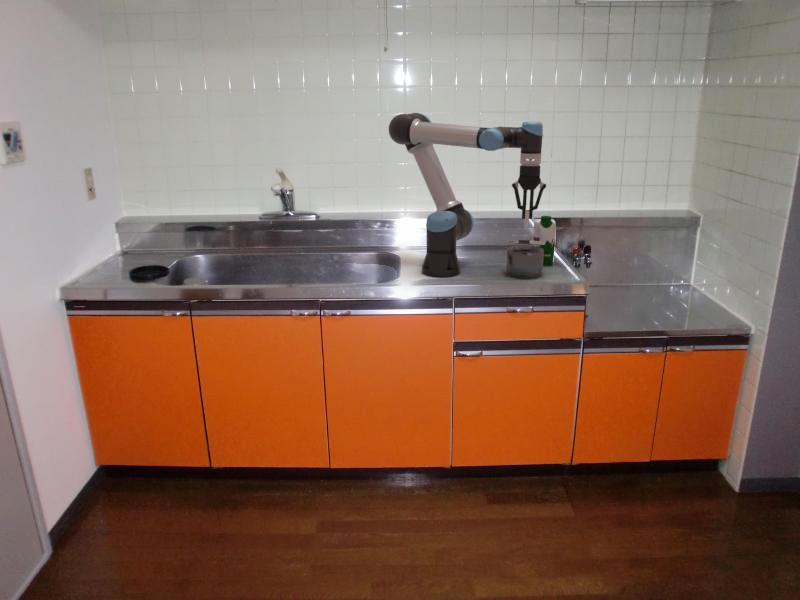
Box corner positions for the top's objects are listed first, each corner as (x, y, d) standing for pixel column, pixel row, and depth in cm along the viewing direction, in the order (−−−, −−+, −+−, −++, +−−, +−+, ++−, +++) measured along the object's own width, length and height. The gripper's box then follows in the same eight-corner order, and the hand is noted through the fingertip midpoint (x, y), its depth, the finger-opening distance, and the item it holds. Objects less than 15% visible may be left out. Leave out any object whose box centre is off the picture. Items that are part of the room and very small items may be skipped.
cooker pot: (503, 277, 236) (504, 252, 233) (508, 267, 250) (509, 243, 247) (541, 280, 232) (542, 254, 229) (543, 269, 246) (545, 245, 243)
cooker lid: (504, 242, 230) (504, 234, 230) (508, 243, 246) (508, 236, 246) (544, 244, 226) (544, 236, 226) (545, 245, 242) (546, 238, 242)
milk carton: (532, 265, 252) (535, 217, 246) (530, 260, 261) (533, 213, 255) (554, 266, 252) (558, 217, 245) (551, 260, 260) (554, 213, 254)
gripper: (511, 165, 227) (508, 228, 234) (548, 166, 224) (543, 230, 231) (513, 163, 234) (510, 224, 241) (548, 164, 231) (544, 226, 238)
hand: (526, 227), depth 236 cm, fingers closed
